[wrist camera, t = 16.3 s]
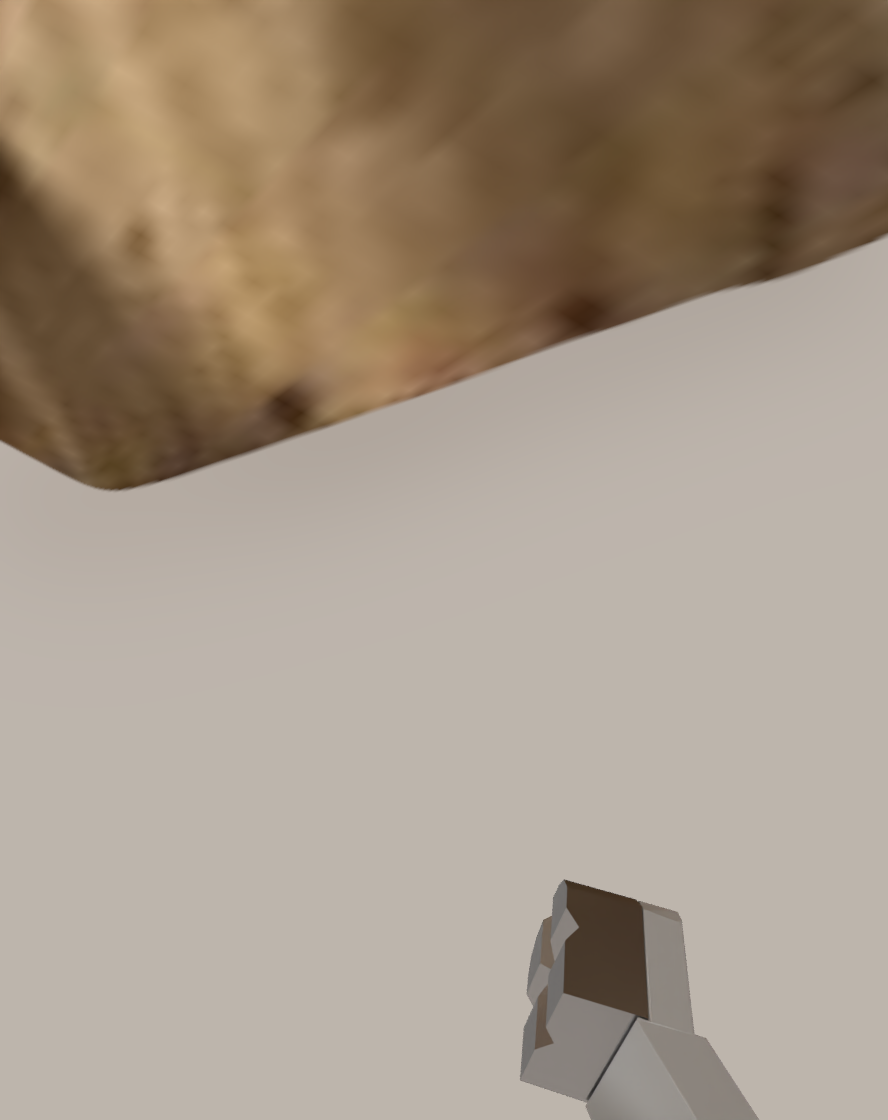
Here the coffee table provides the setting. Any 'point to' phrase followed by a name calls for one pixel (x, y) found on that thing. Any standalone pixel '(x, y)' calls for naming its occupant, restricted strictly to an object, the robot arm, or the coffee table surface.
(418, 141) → the coffee table surface
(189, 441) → the coffee table surface
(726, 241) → the coffee table surface
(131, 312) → the coffee table surface
